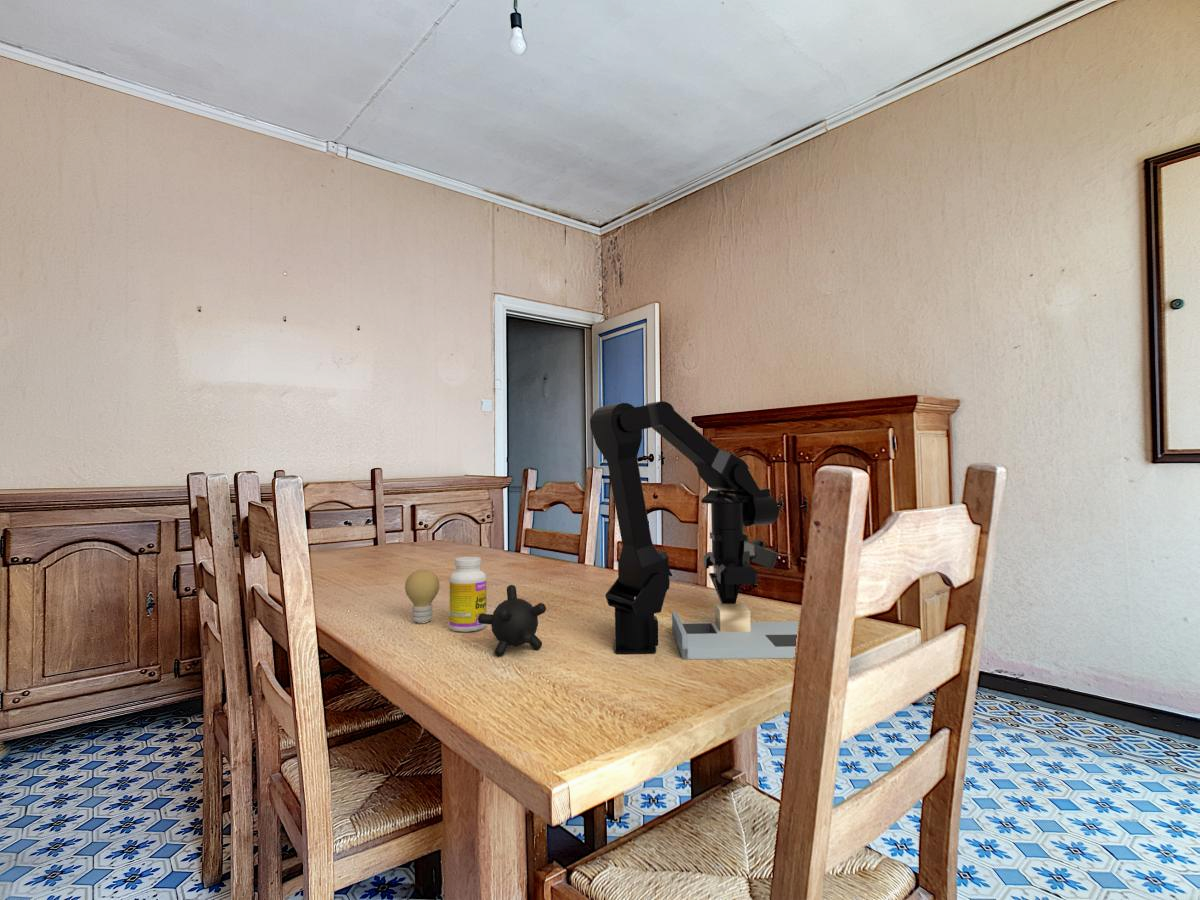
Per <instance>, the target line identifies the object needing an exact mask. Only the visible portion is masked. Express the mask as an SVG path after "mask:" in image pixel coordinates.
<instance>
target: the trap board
mask: <svg viewBox="0 0 1200 900" xmlns="http://www.w3.org/2000/svg"><path fill="white" fill-rule="evenodd" d="M671 623H672V624H671V627H672V629H671V630H672V635H673V637H674V640H675V643H676V646H677V649H678V651H679V653H680V656H681V659H682V660H734V659H735V660H736V659H737V660H742V659H743V660H747V659H749V660H750V659H751V660H752V659H755V660H757V659H758V660H762V659H795V658H794V655H795V648H796V638H797V628H798V620H796V621H795V620H794V621H750V624H751V632H720V631H719V629H718V628H717V626H716V625H715V621H714V622H713V621H712V622H682V620H681V618H680V616H679V614H678V612H677V610H675V611H671Z"/></svg>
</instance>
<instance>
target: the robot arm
mask: <svg viewBox="0 0 1200 900" xmlns="http://www.w3.org/2000/svg"><path fill="white" fill-rule="evenodd" d="M589 424H590V431H591V433H592V436H593V439H594V441H595V444H596V447H597V449H598V450H599V452H600V453H601V454H602V456H603V457H604V459H605V460H606V462H607V466H608V467H607V468H608V472H609V478H610V482H611V483H610V485H611V489H612V495H613V500H614V506H615V510H616V517H617V522H618V528H619V533H620V534H619V535H620V539H621V543H622V544H621V546H622V548H621V552H620V555H619V558H618V562H617V566H618V567H617V571H618V573H617V575H618V578H617V579H616V580H615V581H614V583H613V584H612V586H611V587H610V588H609V589H608V590H607V592H606V593H605V599H606V601H607V602H606V603H607V606H609V607H611V608H612V607H613V608H614V631H615V632H614V636H615V637H614V638H615V639H614V653H615V654H651V653H652V654H653V653H654V654H656V653H657V647H658V646H659V620H658V617H657V616H656V615H655V614H659V613H662V610H663V606H664V601H665V598H666V594H667V592H668V590H669V589H670V585H671V583H670V577H673V574H672V572H671V570H670V565H669V554H668V553H667V551H664V550H658V549H657V548H656V546H655V545H654V544H653V540H652V535H651V530H650V524H649V523H650V522H649V518H648V512H647V507H646V500H645V494H644V489H643V485H642V484H643V482H642V478H641V473H640V467H639V461H638V454H639V451H640V448H641V444H642V440H643V430H645V429H651V428H652V429H653V430H654V431H655V432H656V433H657V434H659V435H660V436H661V437H662V438H663V439H664V440H666V441H667V442H668V443H669V444H670V445H672V446H673V448H675V449H676V450H677V451H679V452H680V453H681V454H682V455H683V456H684V457H685V458H687V459H688V460H689V461H690V462H692V463H693V465H694V466H695V467H696V469H697V474H698V476H699V477H700V478H701V479H702V480H703V482H704V483H705V484H706V485H707V486H708V487H709V488H710V489H709V491H708V492H707V494H706V495H704V497H703V498H701V501H700V502H701V504H710V509H711V510H710V511H711V531H710V532H709V538H710V539H711V551H708V552H706V554H704V556H703V557H702V559H703V562H702V563H703V564H702V565H703V567H704V568H705V569H709V568H710V567H713V572H709V574H708V575H709V577H710V579H711V582H712V584H713V587H714V589H715V592H716V595H717V597H718V599H719V602H720V604H737V599H738V596H739V592H740V589H741V588H742V587H743V586H744V585H758V584H759V574H758V571H757V570H756V569H755V568H754V567H753V566H752V565H750V564H751V563H753V564H756V565H759V566H762V567H765V569H768V570H771V571H773V570H774V568H775V567H774V566H775V564H776V561H777V558H778V555H779V553H778V552H776V551H775V550H772V549H770V548H766V547H767V546H766V543H765V541H762V540H760V539H757V538H755V539H753V540H752V542H750V541H749V539H750V538H749V536H748V535H747V534H746V533H745V527H753V526H755V527H756V526H764V525H765V526H767V525H768V526H769V525H771V524H772V525H773V524H775V522H777V520H778V518H779V515H780V506H778V502H777V500H776V499H775V498H774V496H772V495H771V489H770V488H759V485H758V484H757V482H756V481H755V479H754V477H753V476H752V474H751V472H750V470H749V469H750V468H749V465H748V463H746V461H745V460H744V459H742V458H741V457H740V456H737V455H736V454H734V453H732V452H729V451H727V450H725V449H721V448H719V447H717V446H715V445H714V444H713V443H712V442H711V441H710V440H708V439H707V438H706V436H704V435H703V434H702V433H701V432H700V431H698V430H697V429H696V428H695V427H694V426H693V425H692V424H691V423H689V422H688V421H687V420H686V419H685V418H683V416H682V415H680V414H679V413H678V412H677V411H676V410H675V409H674V406H673V405H672V404H671V403H669V402H667V401H664V400H662V401H655V402H649V403H646V404H645V405H641V406H634V405H633V404H631V403H628V402H620V403H613V404H609V405H604V406H600V407H598V408H597V409H596V410H594V412H593V413H592V416H590V420H589Z"/></svg>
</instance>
